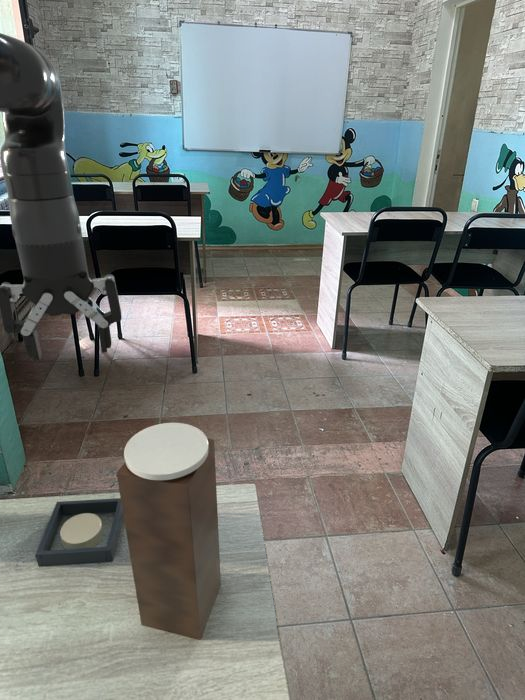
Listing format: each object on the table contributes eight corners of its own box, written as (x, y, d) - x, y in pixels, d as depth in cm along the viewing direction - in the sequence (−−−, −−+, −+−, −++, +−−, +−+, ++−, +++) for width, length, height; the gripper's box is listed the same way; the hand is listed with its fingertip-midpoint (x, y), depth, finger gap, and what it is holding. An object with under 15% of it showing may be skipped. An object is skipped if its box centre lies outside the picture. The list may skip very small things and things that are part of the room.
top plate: (54, 550, 72) (51, 539, 71) (77, 520, 77) (74, 509, 76) (90, 558, 71) (87, 547, 70) (111, 528, 76) (109, 516, 75)
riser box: (142, 631, 61) (116, 473, 50) (168, 578, 68) (150, 428, 57) (201, 646, 60) (188, 486, 48) (221, 590, 67) (214, 439, 55)
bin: (40, 572, 69) (35, 555, 67) (61, 518, 78) (56, 501, 77) (113, 567, 70) (110, 550, 68) (125, 514, 79) (123, 497, 78)
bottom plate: (109, 475, 50) (107, 466, 49) (148, 425, 57) (147, 417, 57) (191, 490, 48) (190, 481, 47) (219, 437, 55) (219, 428, 55)
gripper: (110, 225, 63) (125, 337, 70) (-10, 231, 59) (19, 348, 67) (110, 238, 56) (126, 360, 64) (-24, 245, 53) (9, 374, 60)
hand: (71, 354), depth 65 cm, fingers open, 8 cm apart
